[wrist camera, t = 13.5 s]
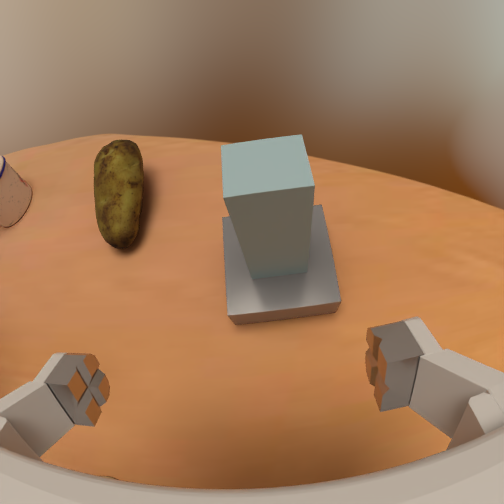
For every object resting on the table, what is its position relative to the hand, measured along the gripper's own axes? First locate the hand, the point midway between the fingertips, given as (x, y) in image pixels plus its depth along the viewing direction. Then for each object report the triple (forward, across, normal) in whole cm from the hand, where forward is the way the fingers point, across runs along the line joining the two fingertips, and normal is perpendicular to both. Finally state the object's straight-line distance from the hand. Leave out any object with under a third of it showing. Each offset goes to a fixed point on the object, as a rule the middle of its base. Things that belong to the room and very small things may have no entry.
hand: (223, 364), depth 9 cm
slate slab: (+24, +2, -8) cm, 25 cm away
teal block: (+21, +2, -6) cm, 22 cm away
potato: (+32, -16, -1) cm, 36 cm away
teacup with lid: (+36, -42, +4) cm, 56 cm away
